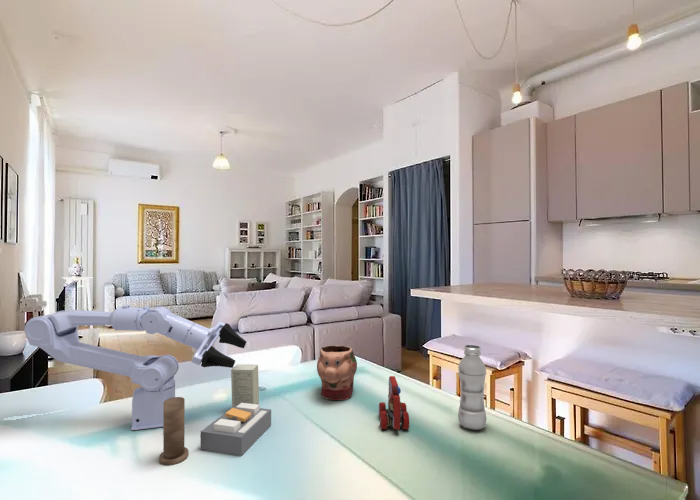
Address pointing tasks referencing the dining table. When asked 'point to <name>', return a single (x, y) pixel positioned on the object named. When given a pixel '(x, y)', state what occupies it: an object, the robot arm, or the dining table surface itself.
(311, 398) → the dining table surface
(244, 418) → the breaker paddle
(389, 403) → the toy fire truck
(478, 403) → the plastic bottle
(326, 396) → the decorative planter
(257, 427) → the switch box
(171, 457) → the walnut post
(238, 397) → the skincare box
